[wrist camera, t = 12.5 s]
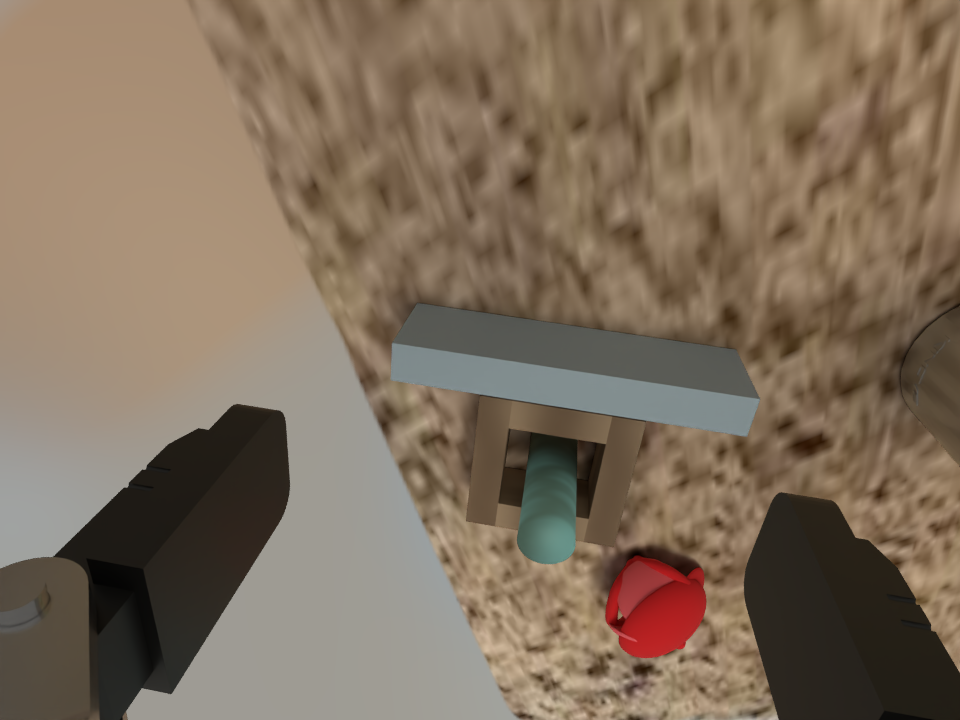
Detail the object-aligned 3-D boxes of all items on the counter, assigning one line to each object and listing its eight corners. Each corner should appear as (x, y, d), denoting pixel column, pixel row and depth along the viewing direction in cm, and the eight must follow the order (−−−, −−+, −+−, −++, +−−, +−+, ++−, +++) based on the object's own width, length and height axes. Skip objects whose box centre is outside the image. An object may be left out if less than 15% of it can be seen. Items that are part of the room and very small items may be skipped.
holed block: (640, 388, 40) (646, 421, 37) (611, 507, 45) (613, 547, 42) (488, 365, 41) (479, 395, 38) (475, 484, 46) (466, 521, 42)
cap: (607, 652, 47) (683, 693, 44) (586, 621, 44) (668, 663, 40) (650, 560, 51) (724, 591, 47) (635, 524, 47) (714, 555, 43)
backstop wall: (735, 349, 38) (760, 399, 33) (725, 383, 39) (746, 436, 34) (417, 302, 40) (392, 343, 35) (415, 336, 41) (390, 380, 36)
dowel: (581, 424, 42) (579, 525, 34) (573, 462, 44) (570, 568, 35) (534, 416, 43) (520, 515, 34) (528, 454, 44) (513, 558, 35)
